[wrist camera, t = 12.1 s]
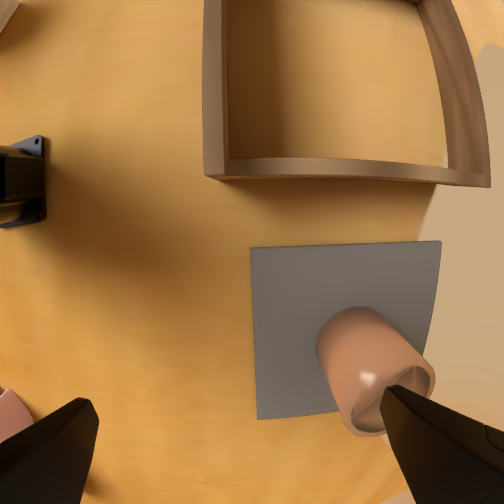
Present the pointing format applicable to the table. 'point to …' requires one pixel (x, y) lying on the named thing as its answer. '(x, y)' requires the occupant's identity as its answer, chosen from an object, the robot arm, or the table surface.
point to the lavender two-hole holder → (12, 415)
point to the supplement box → (7, 11)
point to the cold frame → (458, 147)
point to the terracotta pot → (368, 366)
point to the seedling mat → (330, 310)
